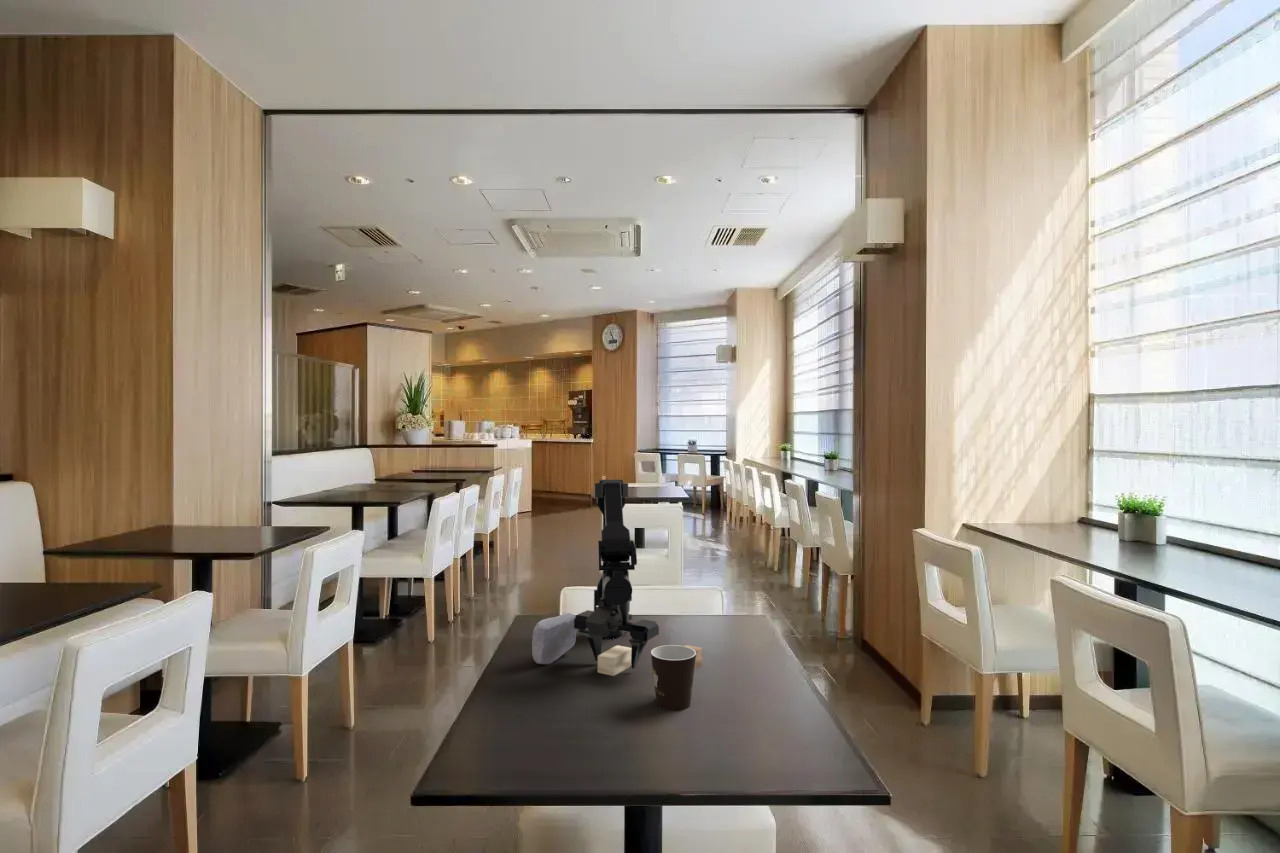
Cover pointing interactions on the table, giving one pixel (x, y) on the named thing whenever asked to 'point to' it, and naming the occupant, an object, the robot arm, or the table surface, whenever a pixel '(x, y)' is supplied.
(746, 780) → the table surface
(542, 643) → the stone block
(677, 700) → the coffee mug
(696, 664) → the brick
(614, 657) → the ash brick
